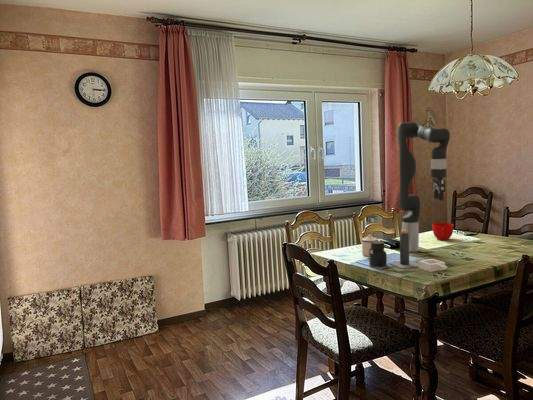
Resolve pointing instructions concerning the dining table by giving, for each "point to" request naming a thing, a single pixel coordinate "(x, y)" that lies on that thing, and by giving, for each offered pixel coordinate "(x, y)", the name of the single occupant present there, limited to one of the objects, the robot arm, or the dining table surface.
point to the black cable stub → (404, 247)
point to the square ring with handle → (431, 265)
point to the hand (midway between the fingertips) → (438, 199)
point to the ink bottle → (377, 254)
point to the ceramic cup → (442, 230)
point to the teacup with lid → (367, 244)
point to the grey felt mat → (410, 265)
